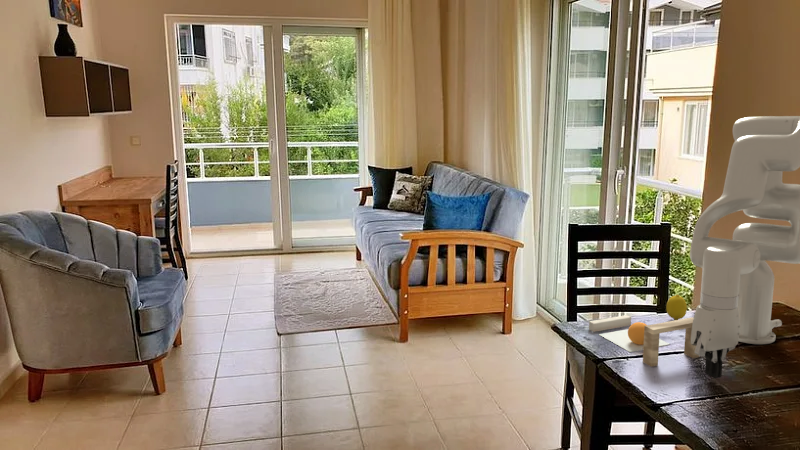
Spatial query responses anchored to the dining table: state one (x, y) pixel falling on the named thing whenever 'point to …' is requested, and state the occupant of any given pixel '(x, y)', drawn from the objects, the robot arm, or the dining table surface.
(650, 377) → the dining table surface
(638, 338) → the ball
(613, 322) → the wall
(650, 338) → the bridge
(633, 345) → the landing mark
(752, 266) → the robot arm
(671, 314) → the lemon
